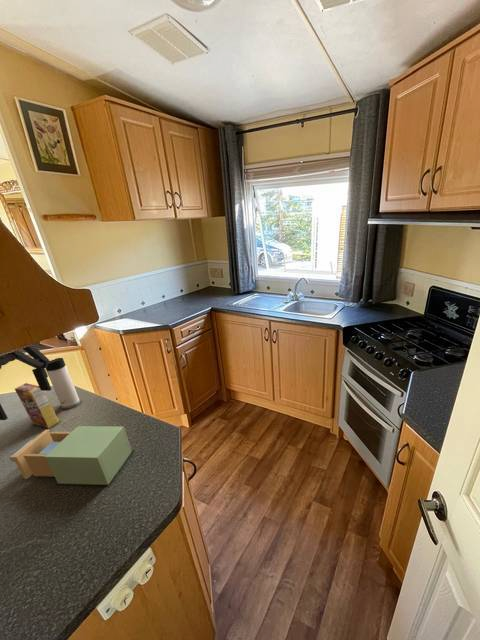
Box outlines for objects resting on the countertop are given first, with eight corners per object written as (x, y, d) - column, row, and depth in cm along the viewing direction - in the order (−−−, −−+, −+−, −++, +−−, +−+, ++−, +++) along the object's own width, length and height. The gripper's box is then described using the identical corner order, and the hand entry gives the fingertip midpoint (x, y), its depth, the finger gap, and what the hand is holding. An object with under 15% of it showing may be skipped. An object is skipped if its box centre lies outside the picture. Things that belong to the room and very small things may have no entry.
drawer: (10, 478, 81) (-3, 456, 77) (42, 449, 91) (32, 429, 88) (69, 479, 79) (59, 457, 76) (95, 450, 89) (87, 429, 86)
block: (45, 467, 82) (38, 453, 80) (57, 454, 87) (51, 441, 85) (61, 467, 82) (55, 454, 80) (73, 454, 86) (67, 441, 84)
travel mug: (64, 411, 112) (45, 364, 103) (60, 405, 116) (40, 360, 108) (82, 403, 116) (64, 358, 107) (77, 398, 120) (60, 354, 112)
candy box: (31, 424, 105) (13, 388, 98) (43, 417, 109) (26, 382, 102) (47, 429, 102) (30, 392, 95) (59, 422, 106) (43, 385, 99)
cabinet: (57, 483, 79) (44, 456, 75) (87, 450, 91) (77, 426, 86) (108, 484, 78) (97, 457, 74) (132, 451, 89) (123, 426, 85)
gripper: (-58, 347, 55) (-8, 435, 65) (46, 311, 78) (72, 380, 87) (-91, 347, 56) (-37, 434, 65) (21, 311, 79) (50, 380, 88)
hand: (25, 403), depth 76 cm, fingers open, 13 cm apart
